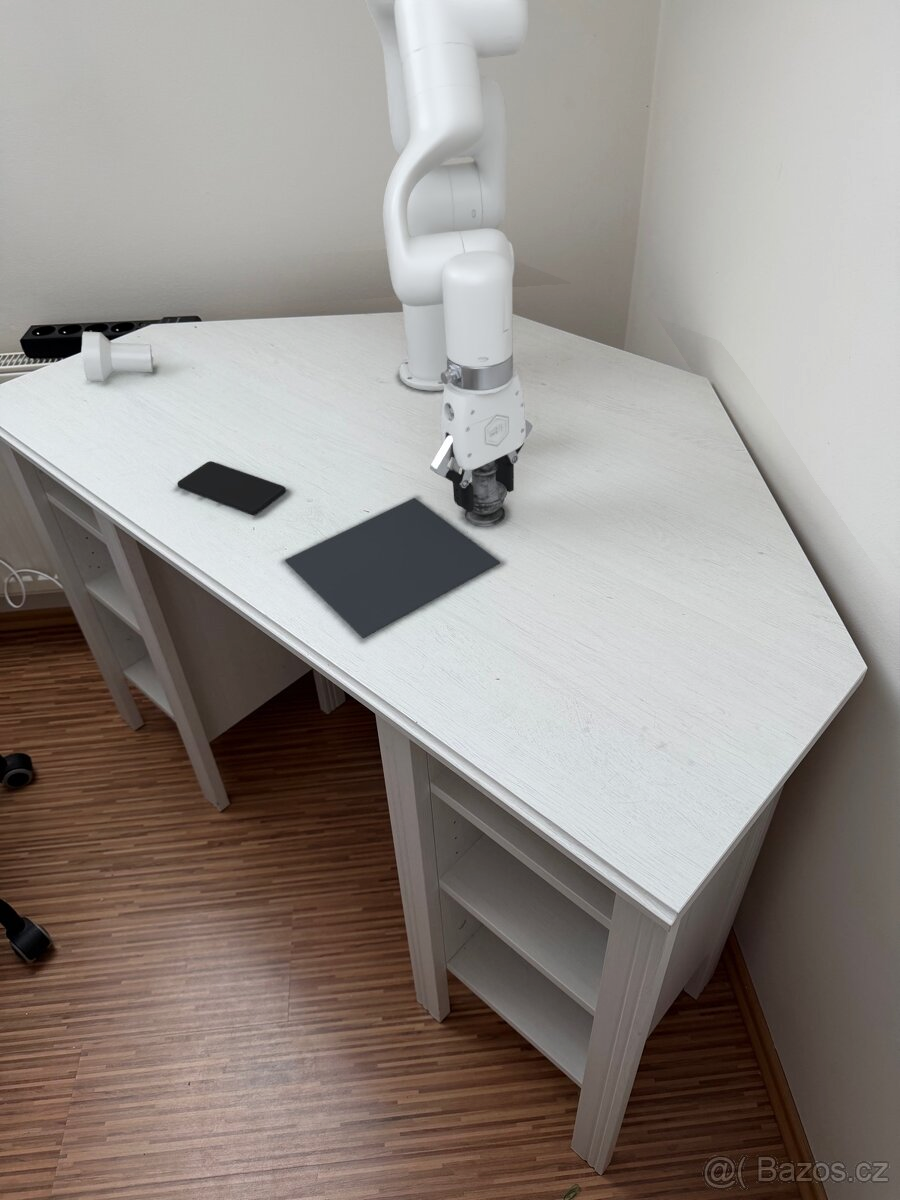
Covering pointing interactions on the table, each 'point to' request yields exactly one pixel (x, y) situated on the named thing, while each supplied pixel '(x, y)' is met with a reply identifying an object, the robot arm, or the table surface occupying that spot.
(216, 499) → the smartphone
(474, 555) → the mat
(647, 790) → the table surface
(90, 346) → the spotlight
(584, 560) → the table surface
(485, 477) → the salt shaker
